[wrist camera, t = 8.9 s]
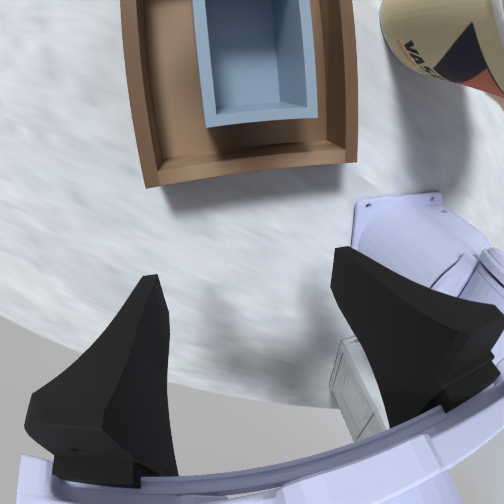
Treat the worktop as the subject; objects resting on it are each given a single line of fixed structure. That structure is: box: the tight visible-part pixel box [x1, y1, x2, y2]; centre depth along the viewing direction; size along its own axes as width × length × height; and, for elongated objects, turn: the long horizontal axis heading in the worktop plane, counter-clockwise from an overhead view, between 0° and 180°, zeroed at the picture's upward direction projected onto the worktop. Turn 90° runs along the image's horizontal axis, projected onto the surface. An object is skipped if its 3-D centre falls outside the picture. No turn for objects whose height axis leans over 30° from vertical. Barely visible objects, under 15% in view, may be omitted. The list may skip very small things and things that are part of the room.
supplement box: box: [330, 336, 390, 442], centre depth 26 cm, size 10×9×17 cm
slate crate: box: [191, 0, 318, 128], centre depth 12 cm, size 5×8×5 cm, turn 5°
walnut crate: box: [120, 0, 358, 189], centre depth 13 cm, size 12×14×4 cm
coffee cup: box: [380, 0, 504, 98], centre depth 10 cm, size 9×9×12 cm
